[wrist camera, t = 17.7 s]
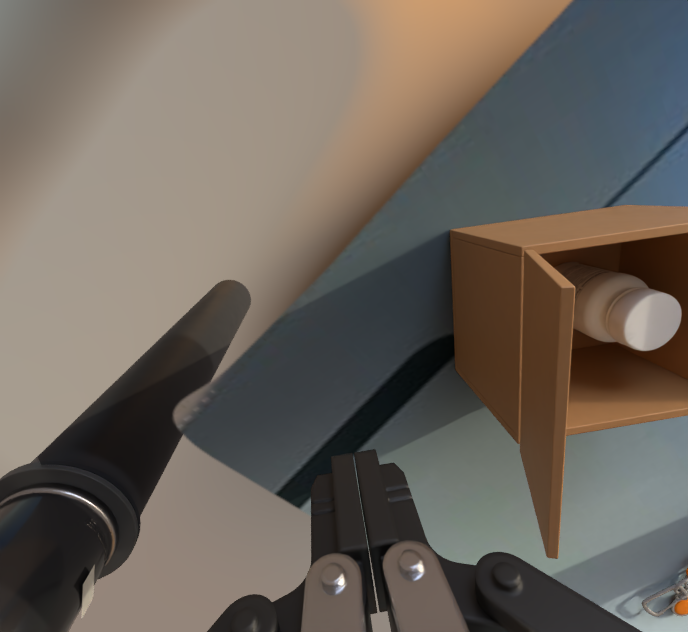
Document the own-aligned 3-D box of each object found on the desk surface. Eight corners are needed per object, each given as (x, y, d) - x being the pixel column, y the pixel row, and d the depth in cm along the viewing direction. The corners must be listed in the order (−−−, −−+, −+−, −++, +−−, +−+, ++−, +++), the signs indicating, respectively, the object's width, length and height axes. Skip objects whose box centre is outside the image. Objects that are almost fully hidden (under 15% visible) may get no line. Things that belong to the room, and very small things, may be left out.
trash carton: (455, 370, 30) (517, 444, 21) (449, 229, 27) (521, 246, 18) (611, 345, 31) (737, 407, 22) (625, 204, 27) (781, 209, 18)
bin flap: (527, 451, 20) (519, 451, 21) (533, 249, 17) (524, 250, 17) (558, 559, 15) (546, 557, 15) (576, 286, 11) (560, 287, 11)
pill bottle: (600, 296, 29) (701, 330, 21) (550, 329, 29) (631, 373, 22) (578, 248, 28) (677, 268, 20) (526, 283, 28) (604, 314, 21)
